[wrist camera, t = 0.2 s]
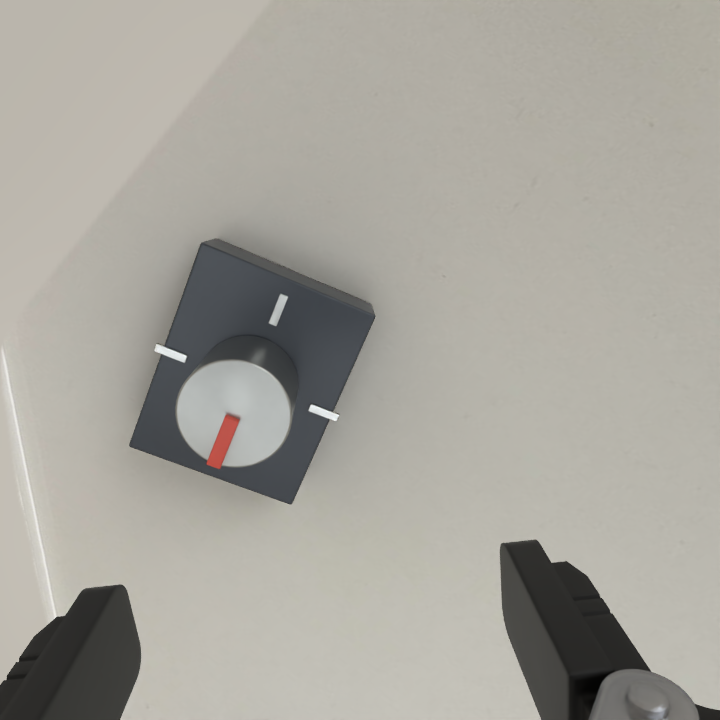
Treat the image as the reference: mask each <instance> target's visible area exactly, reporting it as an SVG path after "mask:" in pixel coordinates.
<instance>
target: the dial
mask: <svg viewBox="0 0 720 720" xmlns="http://www.w3.org/2000/svg"><path fill="white" fill-rule="evenodd" d="M297 393H298V376H297V371H296V369H295V366H294V364H293V362H292V360H291V359H290V357H289V356H288V355H287V354H286V353H285V351H284V350H283V349H281V348H280V347H279V346H278V345H276V344H274V343H273V342H271V341H269V340H267V339H264V338H261V337H256V336H237V337H233V338H230V339H227V340H225V341H223V342H221V343H219V344H218V345H216V346H215V347H214V348H213V349H212V350H211V351H210V352H209V353H208V354H207V356H206V357H205V358H204V359H203V360H202V362H201V363H200V364H199V365H198V366H197V367H196V369H195V370H194V371H193V372H192V373H191V375H190V376H189V377H188V378H187V379H186V381H185V382H184V384H183V385H182V387H181V389H180V391H179V393H178V397H177V400H176V407H175V415H176V422H177V425H178V429H179V431H180V433H181V435H182V437H183V439H184V440H185V442H186V443H187V444H188V446H189V447H190V448H191V449H192V450H193V451H194V452H195V453H196V454H198V455H199V456H200V457H202V458H204V459H205V460H207V463H206V464H207V465H209V466H212V467H215V468H217V469H220V468H221V466H225V467H235V468H238V467H247V466H252V465H255V464H258V463H260V462H262V461H265V460H266V459H268V458H269V457H271V456H272V455H273V454H275V453H276V452H277V451H278V450H279V449H280V448H281V446H282V445H283V443H284V442H285V440H286V438H287V436H288V434H289V431H290V428H291V423H292V418H293V413H294V408H295V403H296V398H297Z"/></svg>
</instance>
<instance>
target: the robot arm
mask: <svg viewBox="0 0 720 720" xmlns="http://www.w3.org/2000/svg"><path fill="white" fill-rule="evenodd" d="M500 564H501V591H502V609H503V616H504V622H505V626H506V630H507V633H508V636H509V639H510V642H511V644H512V647H513V649H514V652H515V654H516V657H517V659H518V662H519V664H520V667H521V669H522V672H523V674H524V677H525V679H526V682H527V684H528V687H529V689H530V692H531V695H532V697H533V700H534V702H535V705H536V707H537V710H538V712H539V715H540V717H541V720H720V710H714V709H710V708H706V707H703V706H699V705H696V704H694V703H693V701H692V700H691V698H690V697H689V696H688V695H687V693H686V692H685V691H684V690H682V689H681V688H680V687H679V686H678V685H676V684H675V683H673V682H672V681H670V680H669V679H667V678H665V677H663V676H661V675H658V674H656V673H653V672H651V671H650V669H649V668H648V666H647V665H646V663H645V662H644V660H643V659H642V657H641V656H640V654H639V653H638V651H637V650H636V648H635V647H634V645H633V644H632V642H631V641H630V639H629V638H628V636H627V635H626V633H625V632H624V630H623V629H622V627H621V626H620V624H619V623H618V621H617V620H616V618H615V617H614V615H613V614H611V613H610V609H609V608H608V606H607V605H606V603H605V602H604V600H603V599H602V598H600V595H599V593H598V591H597V590H596V589H595V587H594V586H593V584H592V583H591V581H590V580H589V578H588V577H587V576H586V575H585V574H584V573H582V572H581V571H579V570H578V569H577V568H575V567H574V566H572V565H571V564H570V563H568V562H567V561H565V562H556V563H551V562H550V560H549V558H548V556H547V555H546V553H545V551H544V550H543V548H542V546H541V545H540V543H539V542H538V541H537V540H528V541H519V542H510V543H502V544H501V547H500ZM140 663H141V647H140V641H139V637H138V633H137V629H136V625H135V621H134V617H133V613H132V609H131V605H130V601H129V596H128V593H127V590H126V588H125V587H124V586H123V585H112V586H103V587H94V588H86V589H84V590H83V591H81V593H80V594H79V596H78V597H77V599H76V600H75V602H74V603H73V605H72V606H71V608H70V609H69V611H68V613H67V614H66V616H61V617H56V618H55V619H54V620H53V621H52V622H51V623H49V624H48V625H47V626H46V627H45V628H44V629H43V630H41V631H40V632H39V633H38V634H37V635H35V636H34V637H33V639H32V640H31V642H30V643H29V645H28V646H27V648H26V649H25V650H24V652H23V654H22V655H21V656H20V658H19V662H16V664H15V665H14V666H13V668H12V669H11V671H10V672H9V674H8V675H7V680H4V681H3V682H2V684H1V685H0V720H120V718H121V716H122V713H123V711H124V708H125V706H126V704H127V701H128V699H129V696H130V694H131V692H132V689H133V687H134V684H135V682H136V680H137V677H138V674H139V669H140Z"/></svg>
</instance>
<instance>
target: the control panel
mask: <svg viewBox="0 0 720 720" xmlns="http://www.w3.org/2000/svg"><path fill="white" fill-rule="evenodd" d="M374 319H375V314H374V311H373V308H372V305H371V304H370V303H368V302H366V301H363V300H361V299H359V298H356V297H354V296H352V295H349V294H347V293H345V292H342V291H340V290H337V289H335V288H333V287H330V286H328V285H326V284H323V283H321V282H319V281H316V280H314V279H311V278H309V277H307V276H304V275H302V274H300V273H297V272H295V271H293V270H290V269H288V268H285V267H283V266H281V265H278V264H276V263H274V262H271V261H269V260H267V259H264V258H262V257H259V256H257V255H255V254H252V253H250V252H248V251H245V250H243V249H241V248H238V247H236V246H233V245H231V244H229V243H226V242H224V241H222V240H219V239H212V240H209V241H206V242H203V243H201V244H200V247H199V250H198V253H197V256H196V258H195V261H194V264H193V267H192V270H191V272H190V275H189V278H188V281H187V284H186V286H185V289H184V292H183V295H182V298H181V300H180V303H179V306H178V309H177V312H176V315H175V317H174V320H173V323H172V326H171V329H170V331H169V334H168V337H167V340H166V343H165V345H161V344H159V343H157V344H156V346H155V349H154V351H155V352H157V353H160V354H161V357H160V359H159V362H158V365H157V368H156V371H155V374H154V376H153V379H152V382H151V385H150V388H149V390H148V393H147V396H146V399H145V402H144V404H143V407H142V410H141V413H140V416H139V418H138V421H137V424H136V427H135V430H134V433H133V435H132V438H131V441H130V444H129V446H130V447H132V448H135V449H138V450H140V451H143V452H146V453H149V454H152V455H154V456H157V457H160V458H163V459H165V460H168V461H171V462H174V463H177V464H179V465H182V466H185V467H188V468H190V469H193V470H196V471H199V472H201V473H204V474H207V475H210V476H213V477H215V478H218V479H221V480H224V481H226V482H229V483H232V484H235V485H238V486H240V487H243V488H246V489H249V490H251V491H254V492H257V493H260V494H262V495H265V496H268V497H271V498H274V499H276V500H279V501H282V502H285V503H287V504H292V503H293V501H294V499H295V496H296V494H297V492H298V490H299V487H300V485H301V483H302V481H303V478H304V476H305V474H306V472H307V469H308V467H309V465H310V463H311V460H312V458H313V456H314V454H315V451H316V449H317V447H318V445H319V442H320V440H321V438H322V436H323V433H324V431H325V429H326V427H327V424H328V422H329V420H333V421H336V422H337V420H338V418H339V414H338V413H336V412H333V411H334V409H335V406H336V404H337V402H338V400H339V397H340V395H341V393H342V391H343V388H344V386H345V384H346V382H347V379H348V377H349V375H350V373H351V370H352V368H353V366H354V364H355V361H356V359H357V357H358V355H359V352H360V350H361V348H362V346H363V343H364V341H365V339H366V337H367V334H368V332H369V330H370V328H371V325H372V323H373V321H374ZM237 336H256V337H261V338H264V339H267V340H269V341H271V342H273V343H274V344H276V345H278V346H279V347H280V348H281V349H283V350H284V351H285V353H286V354H287V355H288V356H289V357H290V359H291V360H292V362H293V364H294V366H295V369H296V371H297V376H298V393H297V398H296V403H295V408H294V413H293V418H292V423H291V428H290V431H289V434H288V436H287V438H286V440H285V442H284V443H283V445H282V446H281V448H280V449H279V450H278V451H277V452H276V453H275V454H273V455H272V456H271V457H269V458H268V459H266V460H265V461H262V462H260V463H258V464H255V465H252V466H247V467H238V468H235V467H225V466H221V468H220V469H217V468H215V467H212V466H209V465H207V464H206V463H207V460H205V459H204V458H202V457H200V456H199V455H198V454H196V453H195V452H194V451H193V450H192V449H191V448H190V447H189V446H188V444H187V443H186V442H185V440H184V439H183V437H182V435H181V433H180V431H179V429H178V425H177V422H176V415H175V407H176V400H177V397H178V393H179V391H180V389H181V387H182V385H183V384H184V382H185V381H186V379H187V378H188V377H189V376H190V375H191V373H192V372H193V371H194V370H195V369H196V367H197V366H198V365H199V364H200V363H201V362H202V360H203V359H204V358H205V357H206V356H207V354H208V353H209V352H210V351H211V350H212V349H213V348H214V347H215V346H216V345H218V344H219V343H221V342H223V341H225V340H227V339H230V338H233V337H237Z"/></svg>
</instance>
